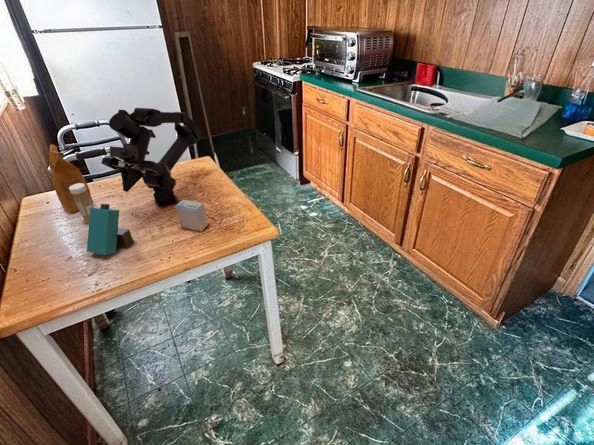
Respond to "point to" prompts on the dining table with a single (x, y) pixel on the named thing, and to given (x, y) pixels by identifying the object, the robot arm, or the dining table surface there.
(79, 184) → the sprinkles bottle
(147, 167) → the robot arm
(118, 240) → the walnut block
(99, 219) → the plastic bottle
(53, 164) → the coffee package
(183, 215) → the medicine box
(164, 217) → the dining table surface
